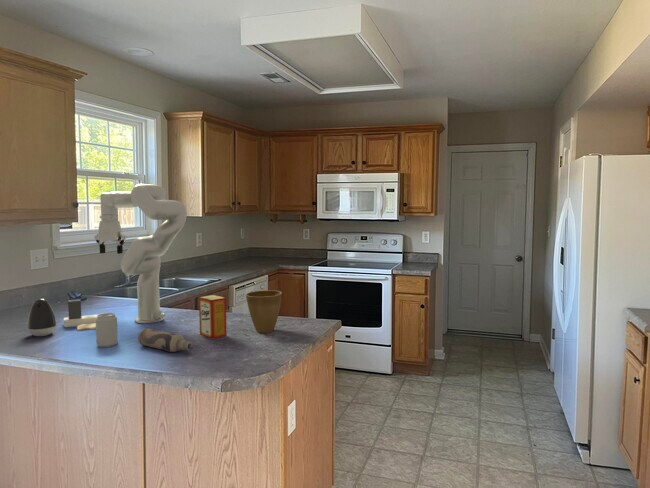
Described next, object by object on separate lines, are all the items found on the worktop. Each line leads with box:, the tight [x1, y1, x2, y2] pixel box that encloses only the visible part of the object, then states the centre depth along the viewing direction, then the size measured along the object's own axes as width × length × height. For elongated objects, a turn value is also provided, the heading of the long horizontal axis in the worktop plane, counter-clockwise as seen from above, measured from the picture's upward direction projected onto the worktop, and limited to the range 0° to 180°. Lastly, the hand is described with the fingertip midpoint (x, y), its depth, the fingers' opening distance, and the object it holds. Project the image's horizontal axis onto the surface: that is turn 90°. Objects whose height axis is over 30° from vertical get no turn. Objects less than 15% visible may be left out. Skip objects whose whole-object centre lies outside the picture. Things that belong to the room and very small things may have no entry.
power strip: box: [63, 312, 104, 328], centre depth 224 cm, size 18×6×5 cm, turn 117°
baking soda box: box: [198, 294, 228, 340], centre depth 201 cm, size 10×6×16 cm
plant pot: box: [245, 289, 282, 334], centre depth 208 cm, size 15×15×16 cm
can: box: [95, 312, 119, 348], centre depth 188 cm, size 8×8×12 cm
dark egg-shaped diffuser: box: [27, 298, 57, 337], centre depth 204 cm, size 10×10×15 cm
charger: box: [67, 298, 82, 320], centre depth 221 cm, size 5×4×8 cm
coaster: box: [76, 323, 96, 332], centre depth 216 cm, size 8×8×1 cm
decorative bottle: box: [137, 327, 196, 353], centre depth 181 cm, size 26×8×7 cm, turn 58°
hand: (111, 253), depth 240 cm, fingers open, 9 cm apart
